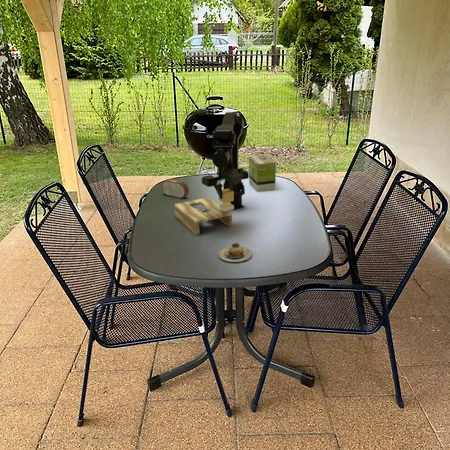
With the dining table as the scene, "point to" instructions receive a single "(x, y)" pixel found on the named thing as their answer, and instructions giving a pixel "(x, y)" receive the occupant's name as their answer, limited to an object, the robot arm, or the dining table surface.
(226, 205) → the mustard yellow block
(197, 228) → the keyhole board
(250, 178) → the tea box
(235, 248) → the pastry
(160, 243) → the dining table surface
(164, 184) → the tin
